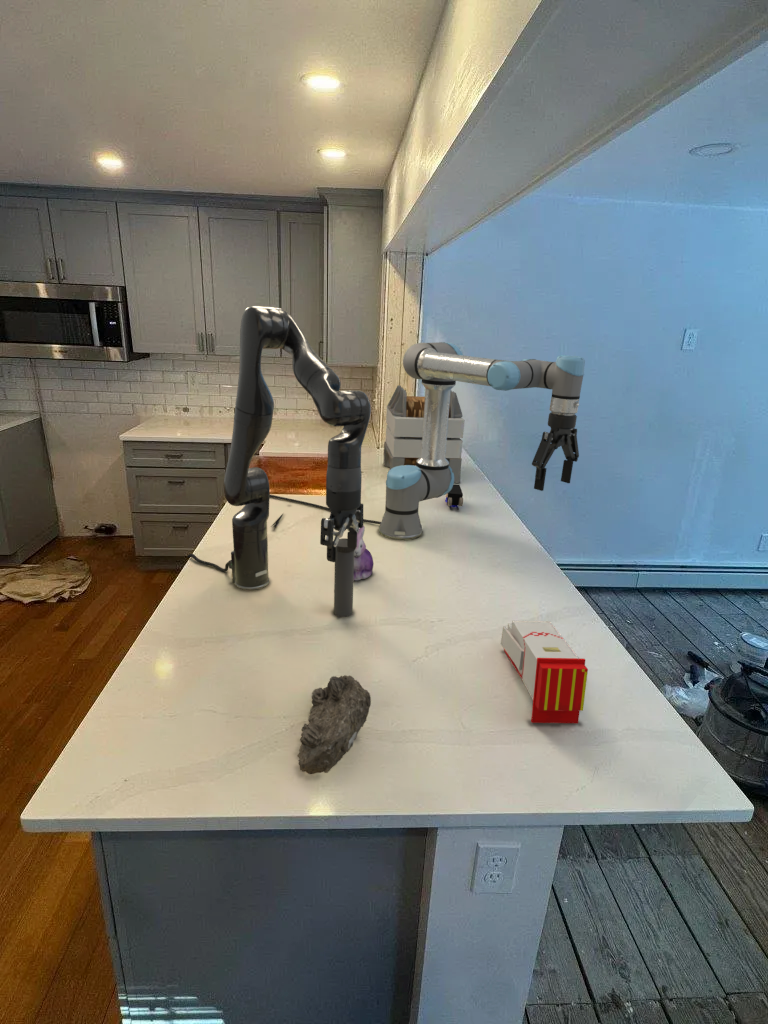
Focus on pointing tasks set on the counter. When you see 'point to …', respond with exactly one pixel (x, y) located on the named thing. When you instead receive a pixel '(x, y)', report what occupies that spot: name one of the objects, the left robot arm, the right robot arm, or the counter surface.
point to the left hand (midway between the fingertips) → (342, 554)
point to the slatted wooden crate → (419, 431)
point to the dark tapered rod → (277, 521)
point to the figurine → (362, 558)
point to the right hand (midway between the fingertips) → (552, 485)
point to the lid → (343, 546)
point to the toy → (547, 670)
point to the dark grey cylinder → (344, 584)
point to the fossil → (333, 723)
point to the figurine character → (454, 497)
